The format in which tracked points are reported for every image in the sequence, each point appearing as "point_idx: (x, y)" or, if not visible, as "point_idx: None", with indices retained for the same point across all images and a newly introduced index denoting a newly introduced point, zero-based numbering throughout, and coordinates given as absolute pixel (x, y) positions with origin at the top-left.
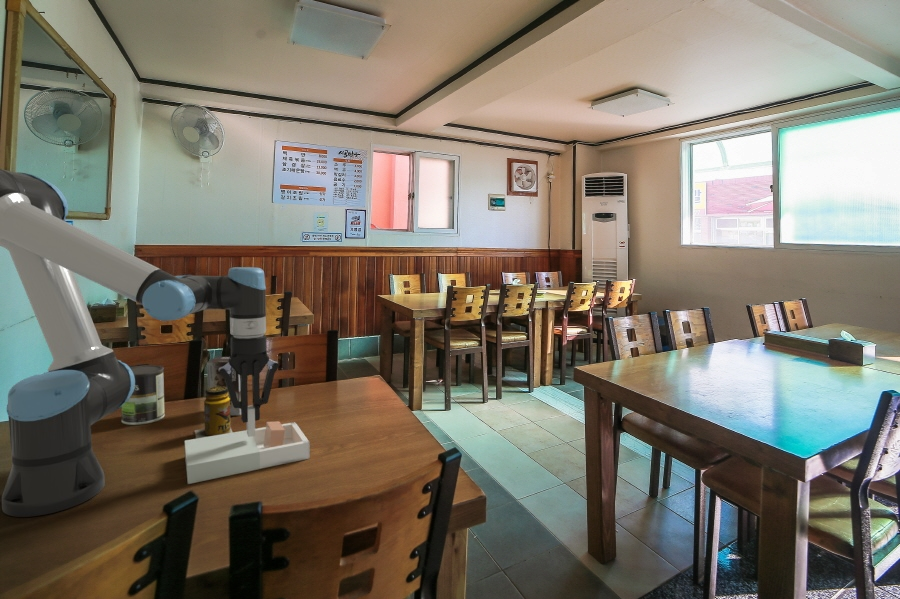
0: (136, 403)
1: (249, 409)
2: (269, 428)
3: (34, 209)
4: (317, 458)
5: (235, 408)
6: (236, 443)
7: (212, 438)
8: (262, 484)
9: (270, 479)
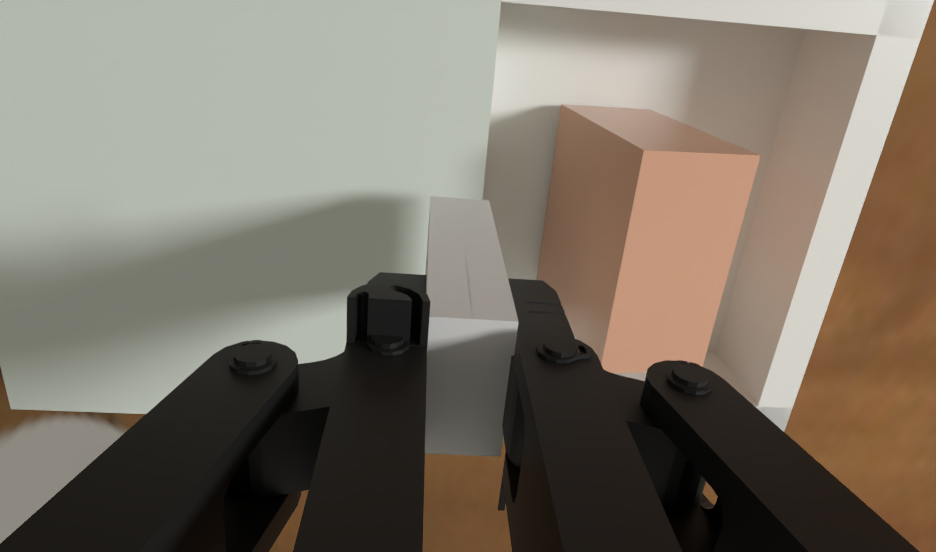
0: None
1: (437, 449)
2: (609, 295)
3: None
4: None
5: None
6: (342, 217)
7: None
8: (428, 503)
9: (473, 479)
